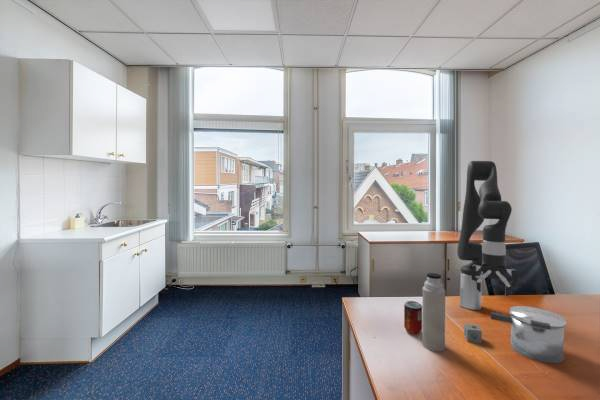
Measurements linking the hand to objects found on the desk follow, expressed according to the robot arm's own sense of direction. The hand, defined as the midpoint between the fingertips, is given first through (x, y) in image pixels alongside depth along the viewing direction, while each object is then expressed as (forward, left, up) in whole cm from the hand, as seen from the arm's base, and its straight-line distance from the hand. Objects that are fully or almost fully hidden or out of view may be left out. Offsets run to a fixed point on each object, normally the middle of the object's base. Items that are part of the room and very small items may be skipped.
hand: (492, 293), depth 109 cm
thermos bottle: (-19, -14, -20) cm, 31 cm away
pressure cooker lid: (+13, +2, -8) cm, 16 cm away
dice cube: (-6, 0, -20) cm, 21 cm away
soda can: (-28, -7, -20) cm, 35 cm away
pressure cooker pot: (+10, +4, -20) cm, 23 cm away
